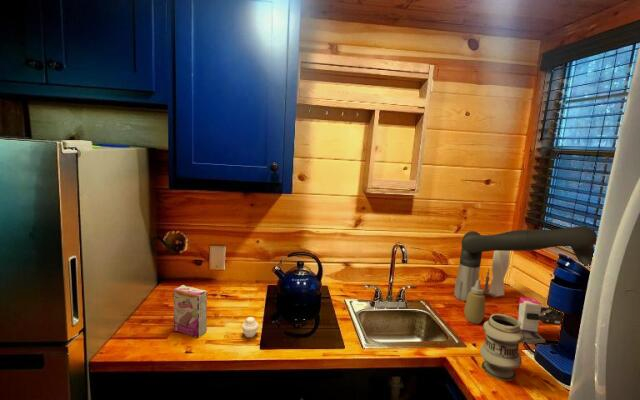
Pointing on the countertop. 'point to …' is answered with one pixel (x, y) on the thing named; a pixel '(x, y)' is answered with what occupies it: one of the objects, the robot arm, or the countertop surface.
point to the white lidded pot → (250, 327)
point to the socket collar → (532, 338)
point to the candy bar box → (190, 310)
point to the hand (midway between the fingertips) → (522, 312)
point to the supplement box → (528, 307)
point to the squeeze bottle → (475, 304)
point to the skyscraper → (497, 273)
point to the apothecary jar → (501, 346)
